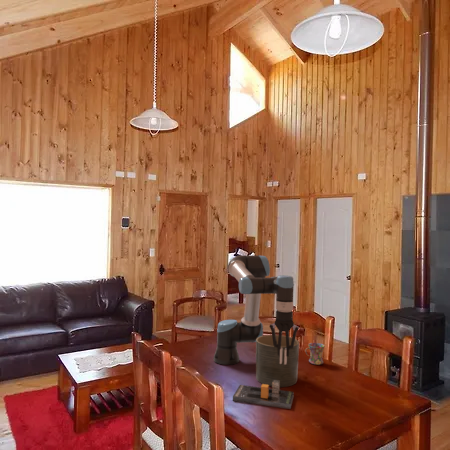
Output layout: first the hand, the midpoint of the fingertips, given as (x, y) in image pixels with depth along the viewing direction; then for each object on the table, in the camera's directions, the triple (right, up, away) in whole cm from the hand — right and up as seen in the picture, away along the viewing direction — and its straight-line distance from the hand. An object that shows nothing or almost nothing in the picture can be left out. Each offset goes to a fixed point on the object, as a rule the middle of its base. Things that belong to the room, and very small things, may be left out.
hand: (283, 363), depth 176 cm
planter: (+1, -19, +30) cm, 35 cm away
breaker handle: (-8, -16, +2) cm, 18 cm away
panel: (-8, -18, +6) cm, 21 cm away
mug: (+26, -20, +56) cm, 65 cm away
